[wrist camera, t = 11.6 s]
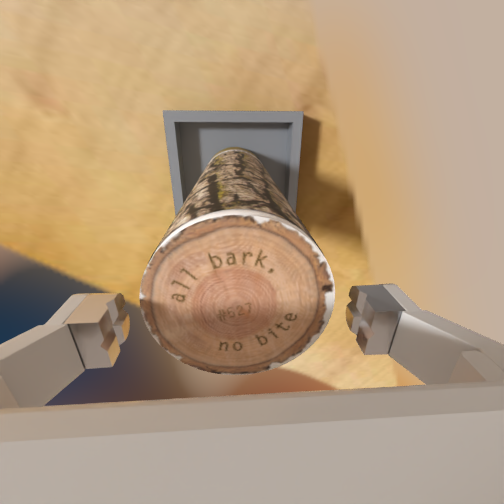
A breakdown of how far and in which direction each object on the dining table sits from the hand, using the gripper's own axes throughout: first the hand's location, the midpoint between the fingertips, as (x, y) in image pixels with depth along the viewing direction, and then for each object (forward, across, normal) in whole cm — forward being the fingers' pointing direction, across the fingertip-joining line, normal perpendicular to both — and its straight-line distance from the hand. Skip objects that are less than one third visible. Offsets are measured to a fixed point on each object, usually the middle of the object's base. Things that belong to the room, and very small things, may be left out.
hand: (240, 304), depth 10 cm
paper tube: (+25, 0, 0) cm, 25 cm away
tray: (+25, 0, 0) cm, 25 cm away
